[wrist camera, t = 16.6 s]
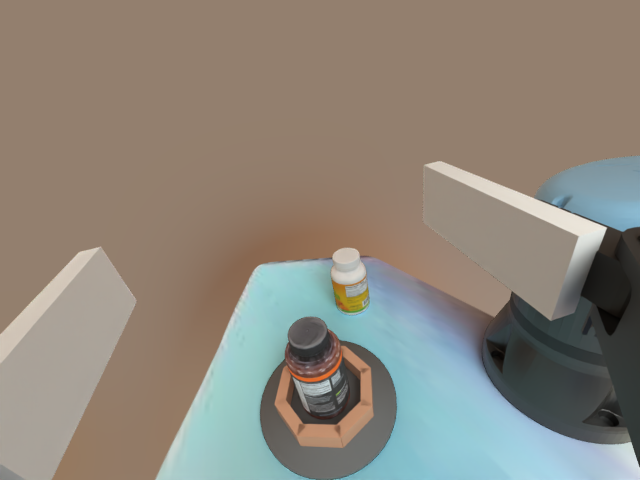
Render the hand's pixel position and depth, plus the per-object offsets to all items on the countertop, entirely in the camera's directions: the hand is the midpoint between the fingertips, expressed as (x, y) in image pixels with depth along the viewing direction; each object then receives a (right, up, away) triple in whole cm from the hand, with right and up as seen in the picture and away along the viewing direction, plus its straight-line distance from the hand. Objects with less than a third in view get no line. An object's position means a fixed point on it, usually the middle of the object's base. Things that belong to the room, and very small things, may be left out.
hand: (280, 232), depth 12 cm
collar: (+2, -19, +22) cm, 29 cm away
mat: (+2, -19, +22) cm, 30 cm away
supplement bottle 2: (+7, -11, +35) cm, 38 cm away
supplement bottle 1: (+2, -19, +22) cm, 29 cm away
